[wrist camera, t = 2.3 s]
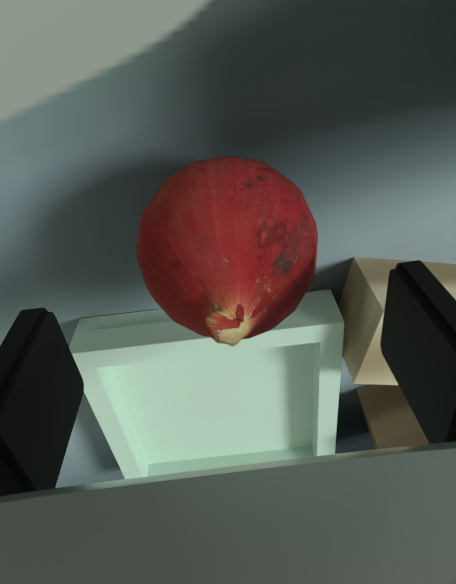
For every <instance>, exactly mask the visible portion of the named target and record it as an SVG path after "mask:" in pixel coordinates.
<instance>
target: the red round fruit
mask: <svg viewBox="0 0 456 584" xmlns="http://www.w3.org/2000/svg"><path fill="white" fill-rule="evenodd" d="M317 241H318V234H317V227H316V223H315V220H314V218H313V216H312V214H311V212H310V209H309V207H308V205H307V203H306V201H305V199H304V196H303V194H302V192H301V190H300V189H299V188H298V187H297V186H296V185H295V184H294V183H292V182H291V181H290V180H288V179H287V178H286V177H284V176H283V175H282V174H280V173H279V172H277V171H276V170H275V169H273V168H272V167H271V166H269V165H268V164H267V163H265V162H262V161H257V160H251V159H245V158H239V157H233V156H225V157H219V158H213V159H207V160H201V161H195V162H194V163H192V164H190V165H189V166H187V167H185V168H184V169H182V170H180V171H179V172H177V173H175V174H174V175H172V176H170V177H169V178H167V179H166V181H165V182H164V183H163V185H162V186H161V188H160V189H159V190H158V192H157V193H156V195H155V196H154V197H153V199H152V200H151V202H150V203H149V204H148V206H147V207H146V209H145V210H144V211H143V213H142V215H141V221H140V227H139V233H138V239H137V245H136V248H137V260H138V263H139V266H140V269H141V272H142V275H143V278H144V281H145V284H146V287H147V289H148V291H149V293H150V295H151V296H152V297H153V299H154V300H155V301H156V302H157V303H158V305H159V306H160V307H161V308H162V309H163V310H164V312H165V313H166V314H167V315H168V316H169V317H170V318H171V319H172V320H173V321H174V322H176V323H178V324H180V325H182V326H184V327H185V328H187V329H189V330H191V331H193V332H195V333H197V334H199V335H202V336H206V337H210V338H212V339H213V340H214V341H215V342H216V343H222V344H228V345H230V346H233V347H234V346H235V345H236V344H238V343H239V342H240V341H241V340H242V339H250V338H252V337H255V336H257V335H260V334H262V333H265V332H267V331H270V330H272V329H273V328H275V327H276V326H277V325H278V324H279V323H281V322H282V321H283V320H284V319H286V318H287V317H288V316H289V315H290V314H292V313H293V312H294V311H295V310H296V308H297V307H298V305H299V303H300V302H301V300H302V298H303V297H304V295H305V293H306V291H307V290H308V288H309V286H310V285H311V283H312V281H313V279H314V275H315V270H316V257H317Z"/></svg>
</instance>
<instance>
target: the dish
mask: <svg viewBox="0 0 456 584" xmlns="http://www.w3.org/2000/svg"><path fill="white" fill-rule="evenodd" d="M343 336H344V320H343V317H342V315H341V313H340V310H339V308H338V306H337V303H336V301H335V299H334V296H333V294H332V292H331V289H327V290H318V291H310V292H306V293H305V295H304V297H303V298H302V300H301V302H300V303H299V305H298V307H297V308H296V310H295V311H294V312H293V313H292V314H290V315H289V316H288V317H287V318H286V319H284V320H283V321H282V322H281V323H279V324H278V325H277V326H276V327H275V328H273V329H272V330H270V331H267V332H265V333H262V334H260V335H257V336H255V337H252V338H250V339H242V340H241V341H240V342H239V343H238V344H236V345H235V346H234V347H233V346H230V345H228V344H222V343H216V342H215V341H214V340H213V339H212V338H210V337H206V336H202V335H199V334H197V333H195V332H193V331H191V330H189V329H187V328H185V327H184V326H182V325H180V324H178V323H176V322H174V321H173V320H172V319H171V318H170V317H169V316H168V315H167V314H166V313H165V312H164V310H163V309H157V310H149V311H140V312H132V313H124V314H115V315H107V316H98V317H90V318H81V319H79V321H78V324H77V327H76V329H75V332H74V335H73V337H72V340H71V343H70V346H69V349H70V351H71V353H72V356H73V358H74V360H75V362H76V365H77V367H78V369H79V371H80V374H81V376H82V378H83V382H84V393H85V395H86V397H87V399H88V401H89V403H90V406H91V408H92V410H93V412H94V414H95V416H96V418H97V420H98V422H99V425H100V427H101V429H102V431H103V433H104V435H105V437H106V439H107V441H108V444H109V446H110V448H111V450H112V452H113V454H114V456H115V458H116V460H117V463H118V465H119V467H120V469H121V471H122V473H123V475H124V477H125V479H131V478H139V477H147V476H155V475H163V474H171V473H180V472H188V471H196V470H204V469H213V468H221V467H229V466H238V465H246V464H255V463H263V462H271V461H280V460H288V459H297V458H306V457H314V456H323V455H332V454H335V444H336V430H337V417H338V403H339V390H340V376H341V363H342V349H343Z"/></svg>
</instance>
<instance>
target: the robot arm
mask: <svg viewBox="0 0 456 584" xmlns="http://www.w3.org/2000/svg"><path fill="white" fill-rule="evenodd" d="M380 347H381V352H382V355H383V357H384V359H385V360H386V362H387V364H388V366H389V368H390V370H391V372H392V374H393V376H394V377H395V379H396V381H397V383H398V385H399V387H400V389H401V391H402V393H403V394H404V396H405V398H406V400H407V402H408V404H409V406H410V408H411V409H412V411H413V413H414V415H415V417H416V419H417V421H418V423H419V425H420V426H421V428H422V430H423V432H424V434H425V436H426V438H427V440H428V442H429V443H430V444H425V445H414V446H404V447H394V448H384V449H376V450H367V451H358V452H349V453H341V454H332V455H323V456H314V457H306V458H297V459H288V460H280V461H271V462H263V463H255V464H246V465H238V466H229V467H221V468H213V469H204V470H196V471H188V472H180V473H171V474H163V475H155V476H147V477H139V478H131V479H123V480H115V481H107V482H99V483H91V484H83V485H75V486H68V487H61V488H55V486H56V483H57V479H58V476H59V473H60V469H61V466H62V463H63V459H64V456H65V453H66V449H67V446H68V442H69V439H70V436H71V432H72V429H73V426H74V422H75V419H76V415H77V412H78V409H79V405H80V402H81V399H82V395H83V392H84V382H83V378H82V376H81V374H80V371H79V369H78V367H77V365H76V362H75V360H74V358H73V356H72V353H71V351H70V349H69V346H68V344H67V342H66V340H65V337H64V335H63V333H62V331H61V328H60V326H59V324H58V321H57V319H56V317H55V315H54V313H52V312H48V311H47V310H46V309H45V308H36V309H28V310H22V311H21V312H20V313H19V315H18V316H17V318H16V320H15V322H14V323H13V325H12V327H11V328H10V330H9V332H8V334H7V335H6V337H5V339H4V340H3V342H2V344H1V346H0V584H456V300H455V299H454V298H453V296H452V295H451V294H450V293H449V292H448V291H447V290H446V288H445V287H444V286H443V285H442V284H441V283H440V282H439V280H438V279H437V278H436V277H435V276H434V275H433V274H432V273H431V271H430V270H429V269H428V268H427V267H426V266H425V265H424V263H423V262H421V261H419V260H418V261H410V262H402V263H398V264H397V265H396V267H395V269H391V270H390V272H389V278H388V286H387V294H386V302H385V309H384V317H383V325H382V333H381V341H380Z"/></svg>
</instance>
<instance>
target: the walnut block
mask: <svg viewBox="0 0 456 584" xmlns="http://www.w3.org/2000/svg"><path fill="white" fill-rule="evenodd" d="M356 391H357V394H358V397H359V400H360V404H361V407H362V410H363V413H364V417H365V420H366V423H367V426H368V429H369V432H370V435H371V438H372V440H373V443H374V446H375V448H376V449H384V448H394V447H404V446H414V445H425V444H430V443H429V442H428V440H427V438H426V436H425V434H424V432H423V430H422V428H421V426H420V425H419V423H418V421H417V419H416V417H415V415H414V413H413V411H412V409H411V408H410V406H409V404H408V402H407V400H406V398H405V396H404V394H403V393H402V391H401V389H400V387H399V385H376V384H370V385H367V386H363V387H360V388H356Z"/></svg>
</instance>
